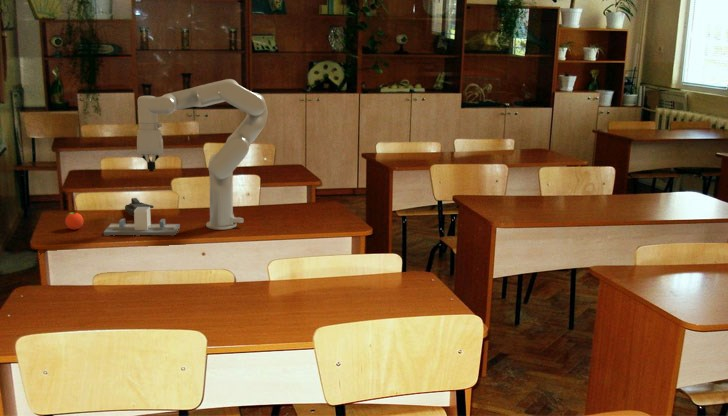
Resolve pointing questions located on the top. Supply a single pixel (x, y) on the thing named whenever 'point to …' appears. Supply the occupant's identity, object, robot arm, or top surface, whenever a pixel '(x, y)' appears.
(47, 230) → the top surface
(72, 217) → the clementine
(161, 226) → the rail
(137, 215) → the block
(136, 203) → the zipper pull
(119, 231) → the board
